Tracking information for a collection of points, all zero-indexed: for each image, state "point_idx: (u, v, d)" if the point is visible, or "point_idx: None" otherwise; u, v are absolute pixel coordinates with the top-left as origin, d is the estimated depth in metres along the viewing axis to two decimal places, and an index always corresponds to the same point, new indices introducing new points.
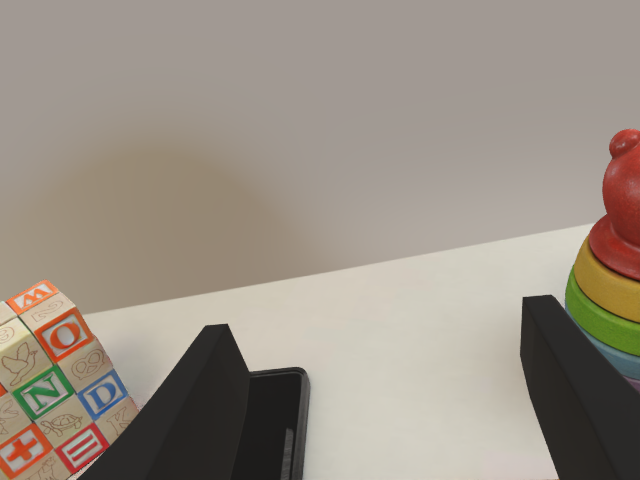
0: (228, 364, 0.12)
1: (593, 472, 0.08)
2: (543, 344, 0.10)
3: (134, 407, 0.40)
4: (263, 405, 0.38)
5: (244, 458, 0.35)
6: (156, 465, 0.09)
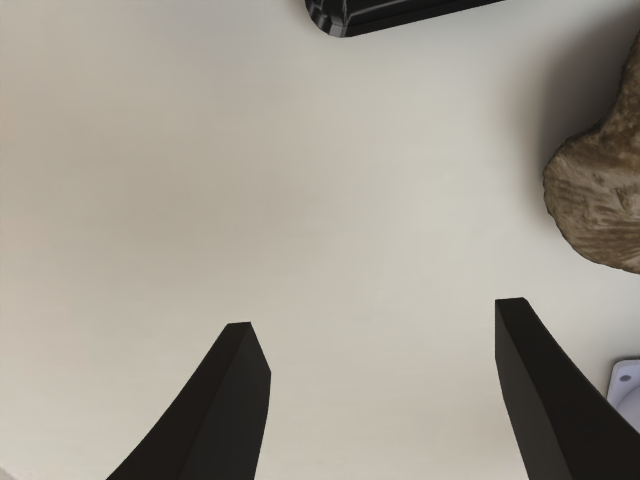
0: (251, 362, 0.12)
1: (554, 473, 0.08)
2: (512, 346, 0.10)
3: None
4: None
5: None
6: (187, 464, 0.09)
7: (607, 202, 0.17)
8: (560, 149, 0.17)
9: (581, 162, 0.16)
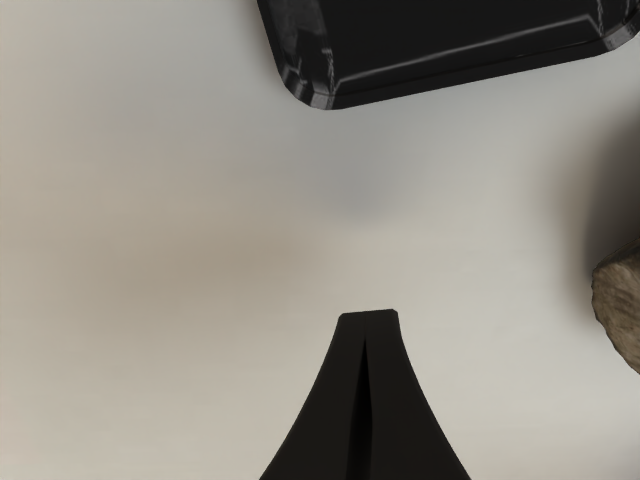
0: None
1: None
2: None
3: None
4: None
5: None
6: (347, 458, 0.09)
7: None
8: (624, 259, 0.12)
9: None
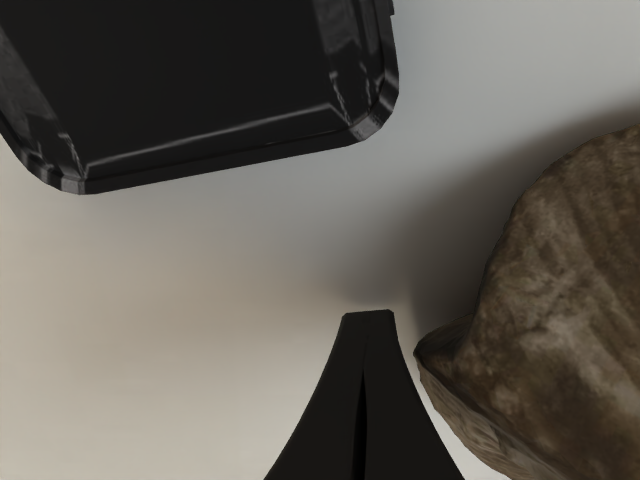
0: None
1: None
2: None
3: None
4: None
5: None
6: None
7: (486, 430, 0.11)
8: (415, 354, 0.11)
9: (440, 383, 0.11)
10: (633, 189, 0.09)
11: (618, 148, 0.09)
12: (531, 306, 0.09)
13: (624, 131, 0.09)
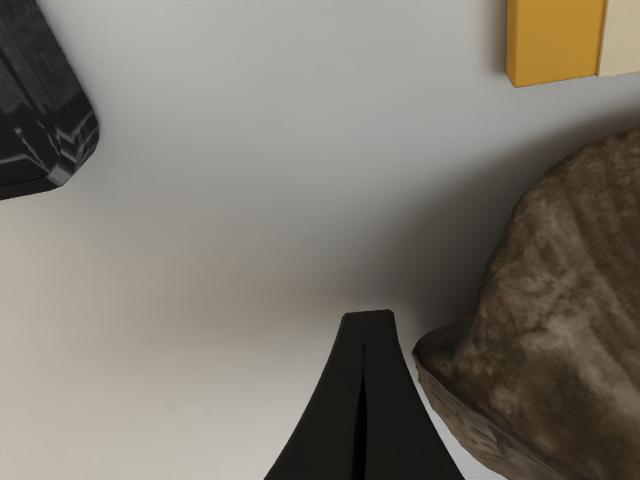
0: None
1: None
2: None
3: None
4: None
5: None
6: None
7: (484, 430, 0.11)
8: (414, 353, 0.11)
9: (439, 383, 0.11)
10: (635, 191, 0.09)
11: (620, 150, 0.09)
12: (531, 306, 0.09)
13: (625, 133, 0.09)
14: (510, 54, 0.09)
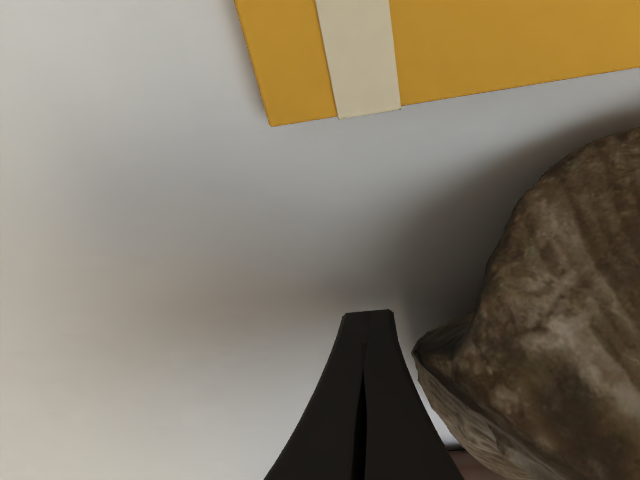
0: None
1: None
2: None
3: None
4: None
5: None
6: None
7: (483, 429, 0.11)
8: (414, 353, 0.11)
9: (439, 382, 0.11)
10: (635, 192, 0.09)
11: (620, 150, 0.09)
12: (532, 306, 0.09)
13: (626, 133, 0.09)
14: None
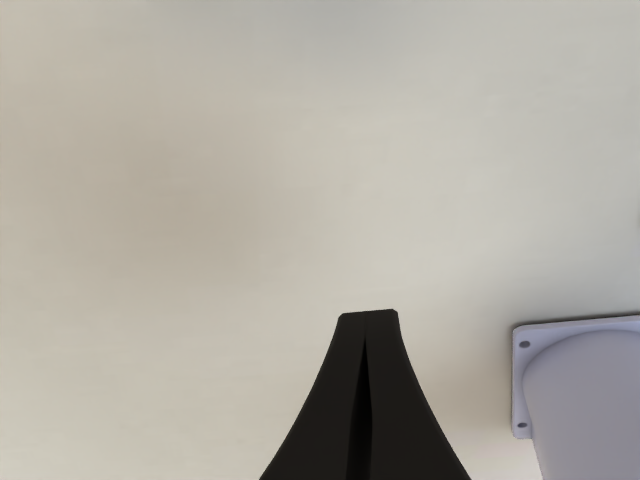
0: None
1: None
2: None
3: None
4: None
5: None
6: (347, 458, 0.08)
7: None
8: None
9: None
10: None
11: None
12: None
13: None
14: None
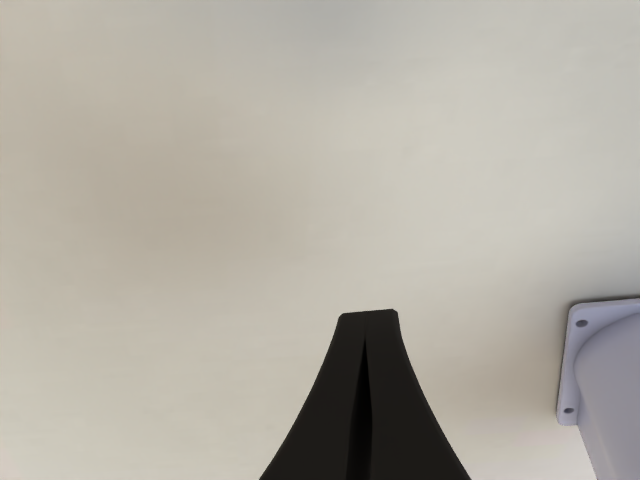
0: None
1: None
2: None
3: None
4: None
5: None
6: (347, 458, 0.09)
7: None
8: None
9: None
10: None
11: None
12: None
13: None
14: None
